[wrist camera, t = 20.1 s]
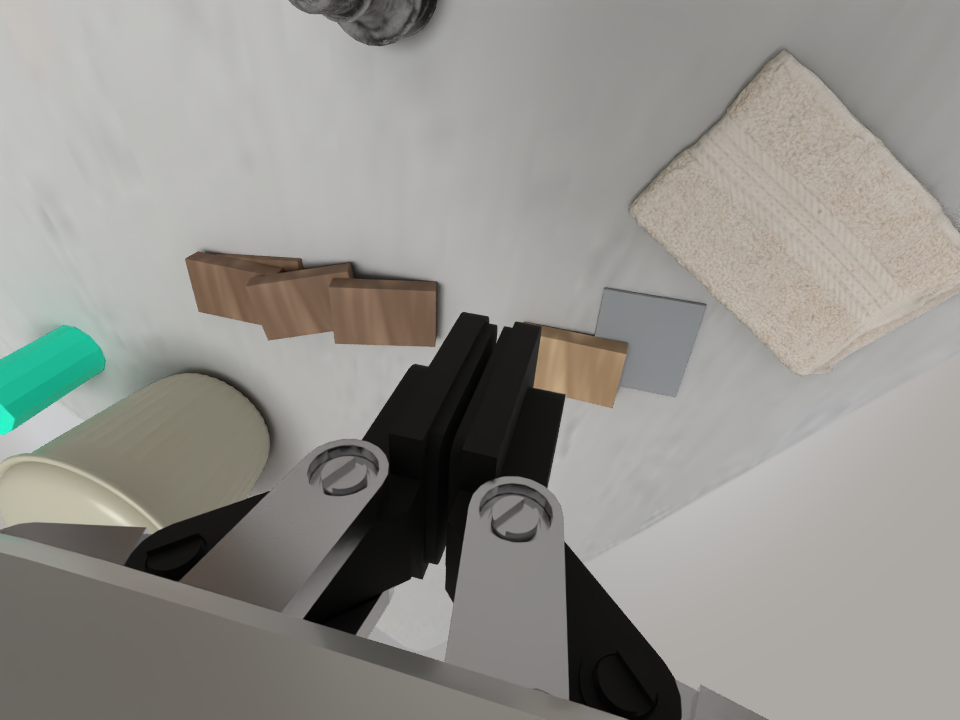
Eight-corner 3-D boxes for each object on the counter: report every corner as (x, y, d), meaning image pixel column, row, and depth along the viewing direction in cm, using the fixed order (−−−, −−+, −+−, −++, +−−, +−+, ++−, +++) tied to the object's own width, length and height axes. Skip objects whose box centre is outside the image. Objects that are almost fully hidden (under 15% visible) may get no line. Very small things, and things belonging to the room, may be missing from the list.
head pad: (705, 304, 37) (706, 305, 37) (675, 394, 42) (675, 397, 42) (604, 287, 39) (604, 289, 38) (585, 377, 43) (585, 379, 43)
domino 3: (347, 271, 41) (245, 286, 41) (363, 326, 44) (268, 340, 44) (350, 262, 42) (251, 277, 43) (366, 316, 45) (273, 330, 46)
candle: (95, 382, 60) (-13, 454, 50) (48, 344, 58) (-72, 411, 48) (113, 356, 56) (2, 428, 47) (64, 315, 55) (-61, 380, 45)
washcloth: (800, 370, 39) (811, 395, 36) (619, 206, 36) (617, 220, 33) (983, 256, 32) (1012, 277, 30) (780, 43, 29) (792, 46, 27)
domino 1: (297, 261, 43) (212, 256, 45) (310, 316, 46) (230, 308, 48) (307, 254, 45) (225, 249, 46) (319, 307, 47) (241, 300, 49)
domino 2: (272, 276, 43) (185, 259, 44) (281, 329, 46) (198, 311, 47) (283, 267, 44) (198, 251, 45) (291, 320, 47) (210, 303, 48)
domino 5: (626, 354, 39) (519, 331, 40) (612, 408, 41) (512, 384, 43) (628, 343, 40) (524, 321, 42) (614, 396, 43) (517, 373, 44)
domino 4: (435, 291, 40) (328, 287, 40) (435, 346, 43) (335, 343, 43) (436, 281, 42) (332, 277, 41) (435, 336, 45) (338, 333, 44)
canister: (168, 457, 64) (-7, 620, 47) (125, 327, 54) (-119, 475, 36) (307, 495, 61) (175, 684, 44) (289, 366, 51) (108, 547, 34)
